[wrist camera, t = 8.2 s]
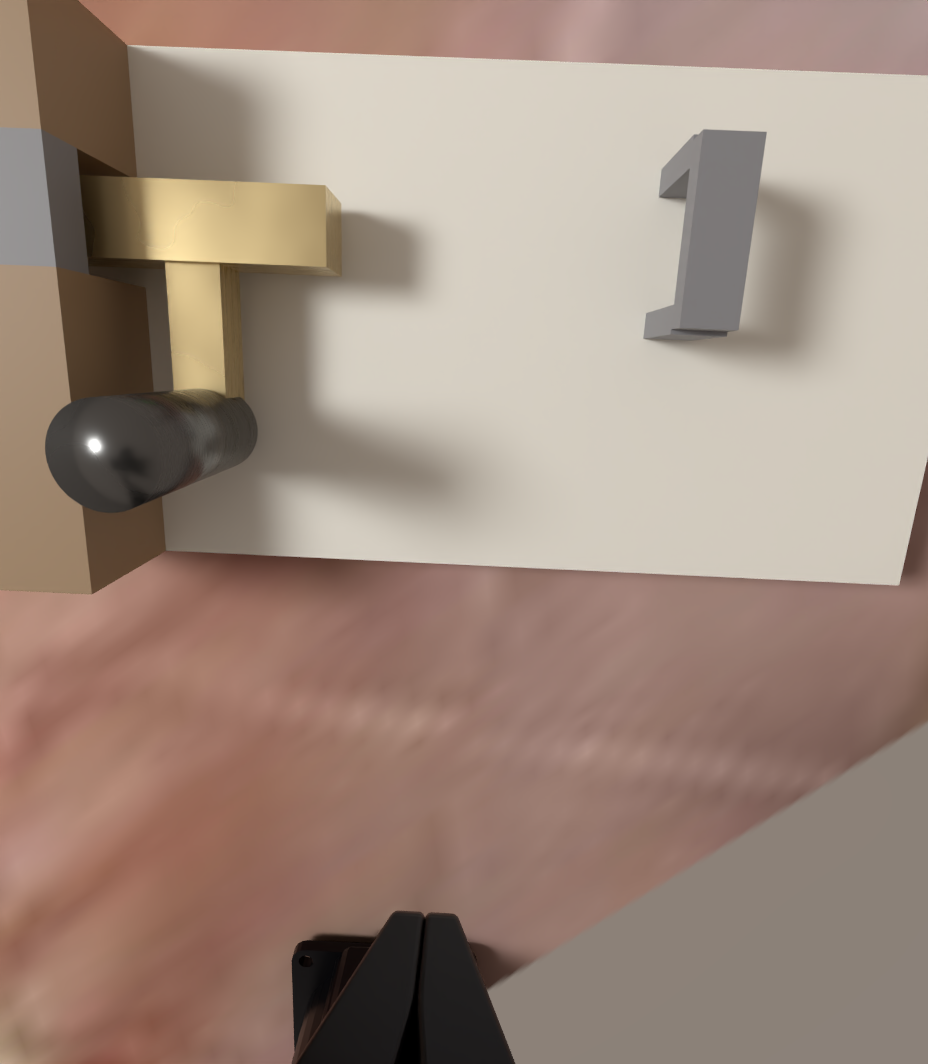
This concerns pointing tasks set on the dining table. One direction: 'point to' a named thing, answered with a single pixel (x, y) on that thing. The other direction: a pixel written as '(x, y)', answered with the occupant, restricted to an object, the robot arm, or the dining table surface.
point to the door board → (487, 309)
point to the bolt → (185, 327)
